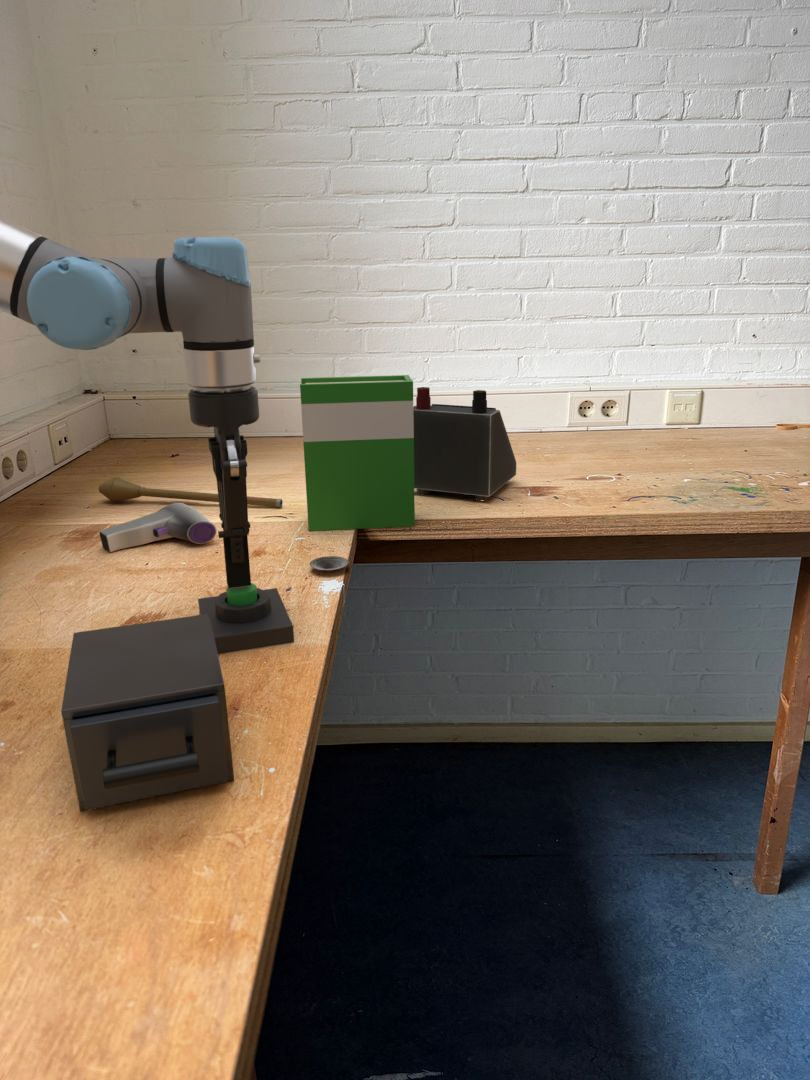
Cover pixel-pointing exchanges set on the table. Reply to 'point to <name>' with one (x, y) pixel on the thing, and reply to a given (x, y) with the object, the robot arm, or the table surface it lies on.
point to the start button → (242, 595)
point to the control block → (248, 622)
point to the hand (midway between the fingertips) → (239, 584)
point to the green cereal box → (358, 451)
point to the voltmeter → (460, 447)
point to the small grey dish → (329, 563)
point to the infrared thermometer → (160, 528)
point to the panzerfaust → (168, 494)
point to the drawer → (149, 750)
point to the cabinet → (142, 673)
